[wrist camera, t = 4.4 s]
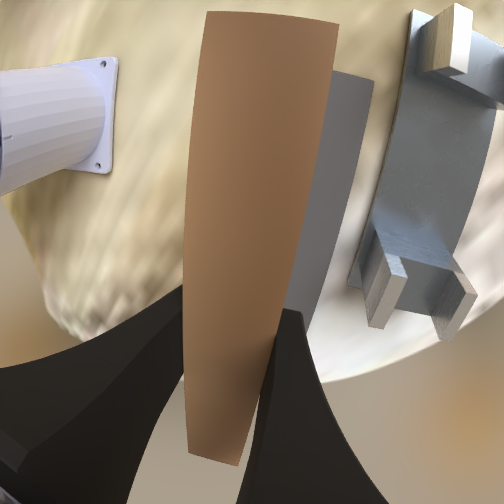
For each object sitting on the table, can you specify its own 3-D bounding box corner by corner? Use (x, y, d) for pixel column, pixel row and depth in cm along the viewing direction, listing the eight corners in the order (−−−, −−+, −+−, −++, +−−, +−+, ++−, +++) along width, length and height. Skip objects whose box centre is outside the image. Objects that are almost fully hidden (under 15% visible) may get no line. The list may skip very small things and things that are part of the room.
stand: (347, 280, 19) (351, 339, 14) (410, 11, 11) (444, -21, 6) (427, 298, 18) (448, 355, 14) (498, 53, 10) (552, 45, 5)
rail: (203, 415, 14) (188, 452, 12) (238, 35, 6) (206, 11, 4) (248, 427, 14) (237, 466, 12) (333, 47, 6) (339, 24, 4)
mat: (199, 316, 23) (197, 319, 23) (226, 55, 14) (223, 54, 14) (302, 341, 22) (302, 345, 22) (373, 81, 13) (374, 81, 13)
